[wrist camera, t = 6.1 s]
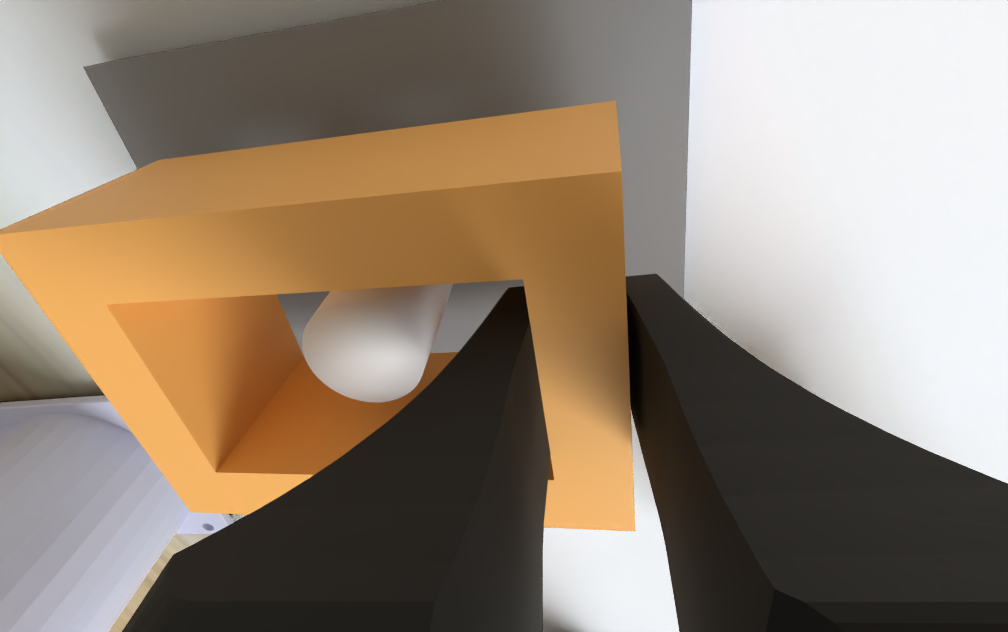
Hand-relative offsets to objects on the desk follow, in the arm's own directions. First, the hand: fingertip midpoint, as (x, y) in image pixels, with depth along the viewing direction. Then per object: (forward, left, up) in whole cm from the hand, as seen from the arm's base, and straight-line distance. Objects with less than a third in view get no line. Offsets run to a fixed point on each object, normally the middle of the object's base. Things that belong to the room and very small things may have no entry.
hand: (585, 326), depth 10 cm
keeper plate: (-4, 0, -6) cm, 7 cm away
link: (-4, 0, -2) cm, 5 cm away
